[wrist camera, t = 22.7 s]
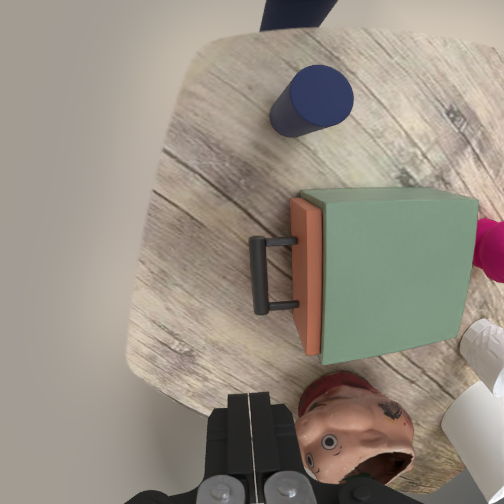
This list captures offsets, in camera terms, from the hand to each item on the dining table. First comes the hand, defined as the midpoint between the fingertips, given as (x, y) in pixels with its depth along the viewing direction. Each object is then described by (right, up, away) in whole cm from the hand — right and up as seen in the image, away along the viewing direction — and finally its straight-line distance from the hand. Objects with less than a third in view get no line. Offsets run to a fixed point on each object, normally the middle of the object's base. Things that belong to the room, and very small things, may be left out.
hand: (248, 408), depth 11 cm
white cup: (+33, -7, +26) cm, 43 cm away
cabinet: (+12, +6, +21) cm, 25 cm away
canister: (+40, -23, +31) cm, 56 cm away
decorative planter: (+12, -14, +27) cm, 33 cm away
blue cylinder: (+4, +18, +16) cm, 25 cm away
